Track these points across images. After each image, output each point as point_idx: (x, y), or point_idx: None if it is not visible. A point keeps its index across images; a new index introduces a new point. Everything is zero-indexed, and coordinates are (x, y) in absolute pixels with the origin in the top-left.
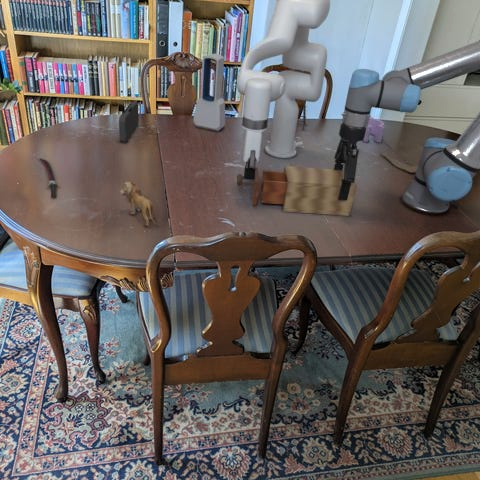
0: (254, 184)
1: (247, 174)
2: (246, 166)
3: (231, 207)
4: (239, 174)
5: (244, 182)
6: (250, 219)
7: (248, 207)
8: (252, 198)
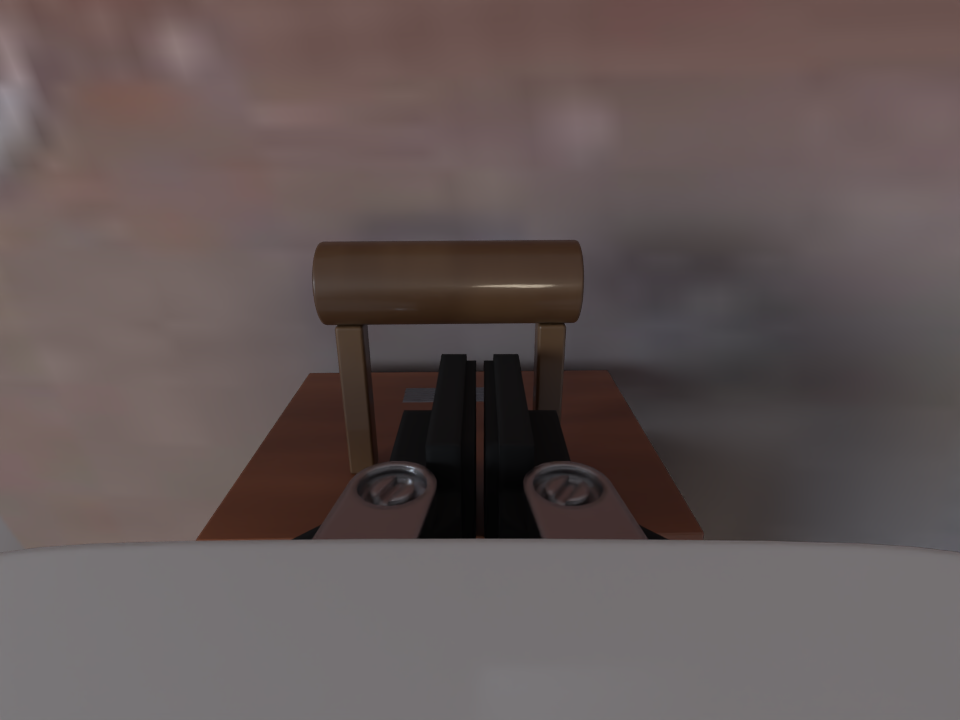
0: (329, 474)
1: (398, 433)
2: (339, 500)
3: (277, 164)
4: (563, 285)
5: (354, 350)
6: (109, 340)
7: (322, 328)
8: (402, 379)
